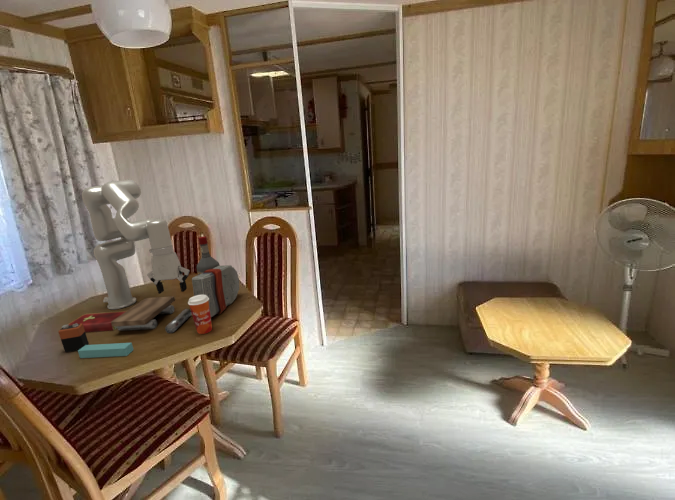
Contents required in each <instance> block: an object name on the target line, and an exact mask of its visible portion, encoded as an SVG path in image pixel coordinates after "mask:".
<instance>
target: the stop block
mask: <svg viewBox="0 0 675 500" xmlns="http://www.w3.org/2000/svg"><path fill="white" fill-rule="evenodd" d="M77 352H78V356H79V358H80V359H90V358H92V359H93V358H111V357H112V358H113V357H127V356H129V354H130V353H132V352H134V346H133V343H132V342H120V343H119V342H117V343H100V344H99V343H96V344H88V345H85V346H84V347H82V348H81V349H80V350H77Z"/></svg>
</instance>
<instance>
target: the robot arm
mask: <svg viewBox="0 0 675 500" xmlns="http://www.w3.org/2000/svg"><path fill="white" fill-rule="evenodd" d="M141 194H142V191H141V187H140V185H139V183H138V182H137V181H136V180H134V179H129V178H128V179H120V180H114V181H113V180H112V181H108V182H106V183H104V184H103V185H102V184H101V185H95V186H90V187H86V188H84V189H83V191H82V192H81V198H82V202H83V204H84V206H85V207H86V209H87V211H88V213H89V218H90V223H91V227H92V230H93V231H92V232H93V236H94V238H95V240H97V241H98V242H103V243H100V244H97V245H96V246H94V248H93V256H94V258H95V260H96V262H97V265H98V266H99V268H100V272H101V276H102V278H103V282H104V285H105V290H106V292H107V296H105V297H103V300H102V302H103V303H108V304H107V309H109V310H118V309H119V310H120V309H124V308H126V307H129V306H132V305H134V304H135V303H137V298H136V297H133V296H132V292H131V288H130V285H129V281H128V276H127V272H126V269H125V266H123V265H121V264H120V263H119V262H117V261H120V260H123V259H127V258H130V257H132V256H134V255H135V254H136V243H135V242H139V241H142V240H147V239H148V240H149V244H150V248H149V253H151V254H152V255H151V261H150V263H151V271H150V272H148V273H147V274H146V277H148V278H149V279H150V281H151V282H152V283H153V284H154V285H155V286H156V290H157V293H158V294H162V293H164V291H165V288H164V285H163V281H171V280H176V279H177V280H178V281H179V289H180V292H182V293H184V292H185V291H187V289H188V287H187V281H186V280H187V279H188V277H189V274H190V271H191V270H190V269H188V268H185V267H183V266H182V265H181V262H180V260H179V257H178V254H177V253H176V252H175V251H174V247H173V242H172V239H171V232H170V229H169V226H168V222H167V220H166V219H163V218H162V219H161V218H160V219H159V218H156V217H151V218H145V219H140V220H135V221H130V220H129V218H130V217H132V216H133V215H135V214H136V213H137V211H138V210H139V208H140V205H139V204H140V203H139V202H138V200H137V199H138V198H140V197H141ZM109 205H111V207H112V208H113V209H114V210H115V211H116V213H115V217H113V213H112V210H111V208H110V207H109ZM110 240H111V241H110ZM105 241H106V242H105ZM183 273H184V275H183Z"/></svg>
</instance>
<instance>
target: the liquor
mask: <svg viewBox="0 0 675 500" xmlns="http://www.w3.org/2000/svg"><path fill="white" fill-rule="evenodd" d="M198 244H199V247H200V252H201V258H200V260H199V261H198V263H196V272H197V276H198V275H200V274H202V273H203V272H204V271H206V270H209V269H213V268H215V267H217V266H221V265H220V262H219V261H218V260H217V259H215V258H214V257H213V256H211V254H210V250H209V246H208V245H209V244H208V238H207V236H199V237H198Z"/></svg>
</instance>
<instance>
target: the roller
mask: <svg viewBox="0 0 675 500" xmlns="http://www.w3.org/2000/svg"><path fill="white" fill-rule="evenodd" d="M191 316H192V313H191V309H190V308H185V309H183V310H182V311H181V312H180V313H179V314H178V315H177V316H176V317H174V318H173V319H172V320H171V321H170V322H169V323H168V324H167V325H166V326H165V328H164V330H165V332H166V333H168V334H173V333H175V332H176V331H177V330H178V329H179V328H180V327H181V326H182V325H183V324H184V323H185V322H186V321H187V320H188V319H189V318H190V317H191Z"/></svg>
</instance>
